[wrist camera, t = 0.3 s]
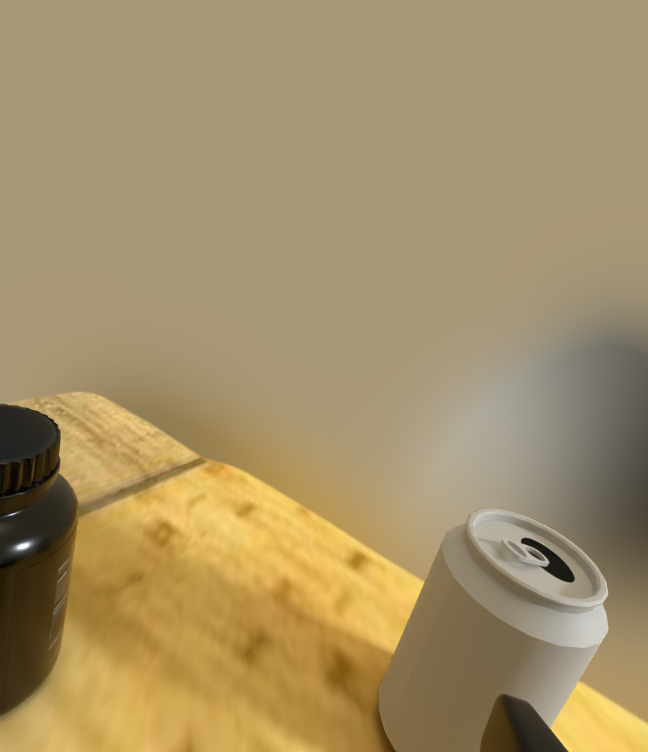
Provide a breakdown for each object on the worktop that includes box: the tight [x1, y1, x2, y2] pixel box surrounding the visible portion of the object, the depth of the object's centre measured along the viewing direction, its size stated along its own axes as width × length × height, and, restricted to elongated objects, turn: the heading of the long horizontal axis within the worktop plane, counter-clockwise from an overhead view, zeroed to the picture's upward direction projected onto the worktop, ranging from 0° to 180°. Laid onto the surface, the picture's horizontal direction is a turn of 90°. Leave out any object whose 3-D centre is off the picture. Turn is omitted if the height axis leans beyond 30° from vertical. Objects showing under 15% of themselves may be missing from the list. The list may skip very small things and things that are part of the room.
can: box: [378, 508, 608, 752], centre depth 24 cm, size 8×8×12 cm
